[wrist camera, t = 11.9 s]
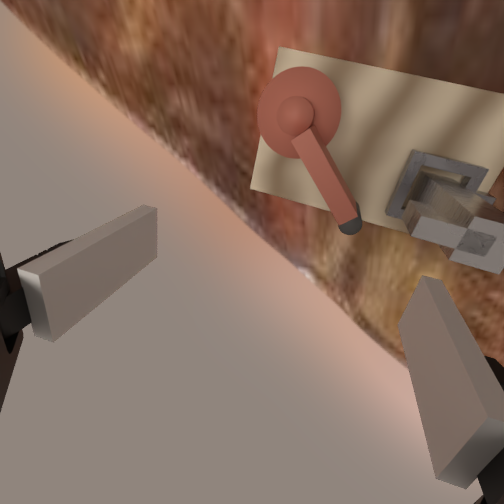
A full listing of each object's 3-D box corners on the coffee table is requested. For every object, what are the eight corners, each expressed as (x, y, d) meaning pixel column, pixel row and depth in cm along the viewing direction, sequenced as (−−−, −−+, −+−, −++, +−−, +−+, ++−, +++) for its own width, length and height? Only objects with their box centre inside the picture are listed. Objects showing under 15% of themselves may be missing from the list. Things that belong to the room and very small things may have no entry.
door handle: (246, 102, 27) (226, 102, 22) (316, 48, 24) (309, 34, 19) (320, 227, 30) (316, 251, 26) (389, 194, 27) (399, 213, 23)
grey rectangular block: (452, 178, 29) (530, 231, 17) (437, 207, 31) (499, 274, 19) (393, 163, 30) (427, 203, 18) (381, 191, 31) (405, 247, 19)
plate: (534, 102, 26) (572, 101, 22) (451, 242, 33) (467, 263, 29) (281, 48, 29) (270, 38, 25) (252, 186, 36) (240, 197, 32)
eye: (501, 170, 28) (511, 174, 26) (464, 231, 31) (471, 238, 29) (411, 148, 29) (415, 151, 27) (384, 209, 32) (386, 215, 30)
